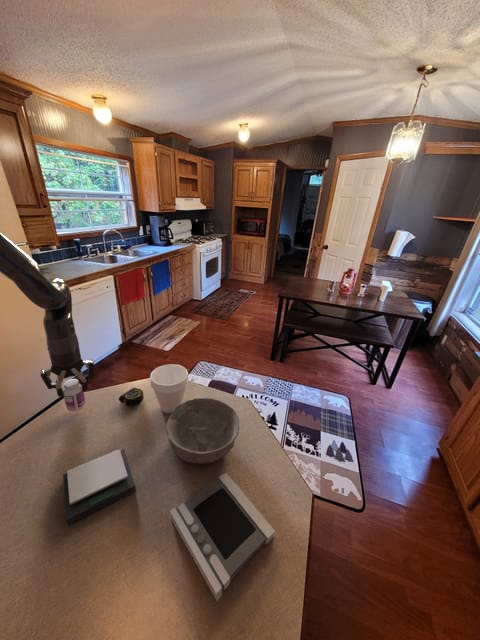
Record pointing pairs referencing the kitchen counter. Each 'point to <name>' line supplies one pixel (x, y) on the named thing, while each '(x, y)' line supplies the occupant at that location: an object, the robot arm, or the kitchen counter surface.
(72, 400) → the pill bottle
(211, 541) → the alarm clock
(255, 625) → the kitchen counter surface
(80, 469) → the scale
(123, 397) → the tape measure
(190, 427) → the bowl
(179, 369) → the cup
